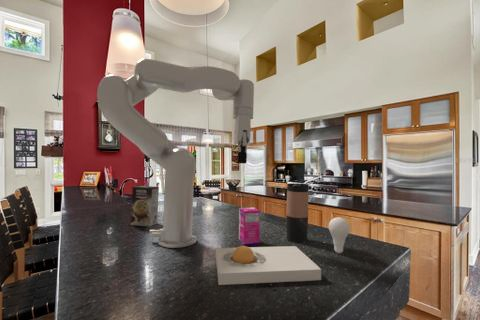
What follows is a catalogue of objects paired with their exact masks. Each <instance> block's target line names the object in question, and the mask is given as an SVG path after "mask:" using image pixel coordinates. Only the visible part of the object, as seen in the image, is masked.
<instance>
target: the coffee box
mask: <svg viewBox="0 0 480 320" xmlns="http://www.w3.org/2000/svg"><path fill="white" fill-rule="evenodd" d="M131 190H132V193H131V211H130V212H131V213H130V215H131V217H130V220H131V221H130V225H131V226H141V227H142V226H143V227H152V226H154V225H156V224H158V215H159V214H158V213H159V193H160V192H159V191H160V186H152V185H151V186H149V185H136V186H135V185H134V186H132V188H131Z"/></svg>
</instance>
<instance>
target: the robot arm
mask: <svg viewBox="0 0 480 320" xmlns="http://www.w3.org/2000/svg"><path fill="white" fill-rule="evenodd" d="M158 89H162V90H167V91H173V92H179V93H189V92H193V91H197V90H211V94H212V96H213V97H214V98H215V99H217V100H219V101H233V109H232V110H233V111H232V118H233V119H234V120H235V122H234V138H233V144H234V145H237V158H236V160H237V164H247V157H248V155H247V154H248V153H247V152H248V151H247V150H248V144H249V143H250V142H251V121H252V120H253V119H254V102H255V99H254V97H255V96H254V95H255V84H254V82H253V81H252V80H250V79H246V78H245V79H244V78H243V79H240V77H239V76H238V74H236V73H235V72H233V71H232V70H229V69H225V68H221V67H216V66H209V65H208V66H207V65H206V66H201V65H200V66H184V65H179V64H175V63H174V64H173V63H170V62H164V61H160V60H156V59H150V58H141V59H139V60H138V61H137V62H136V64H135V66H134V74H133V75H132V76H130V77H129V78H127V79H125V78H124V77H122V76H120V75H116V74H109V75H105V76H103V78H102V79H101V80H100V82H99V84H98V86H97V92H96V94H97V95H96V97H97V98H96V99H97V104H98V107H99V111H101V113H102V115H103V117H104V118H105V120H106V121H107V122H108V123H109V124H110V126H112V127H113V128H114V129H115V130H117V131H118V132H119V133H120V134H122V136H124V137H125V138H126V139H128V141H130V142H131V143H133V144H134V145H135V146H137V147H138V149H139V151H141V153H142V154H144V155H145V156H147V157H148V159H151V160H152V161H153V162H154V163H155V164H157V165H158V166H159V167H161V168H162V169H164V170H165V171H164V184H163V185H164V189H163V191H164V193H163V196H164V197H163V198H164V199H163V217H162V219H163V221H162V222H163V223H162V228H159V229H149V233H148V234H149V236H151V238H157V237H158V239H157V244H158V245H159V246H161V247H163V248H171V249H174V248H175V249H177V248H178V249H180V248H186V247H189V246H193V245H194V244H195V243H197V236H196V235H194V234H193V216H194V212H193V211H194V184H195V174H196V159H195V156H194V154H193V153H192V152H191V151H190V150H189V149H187V148H185V147H179V146H177V145H176V144H175V143H173V142H172V141H171V140H170V139H168V136H167V134H166V133H165V132H164V131H163V130H162V129H160V128H159V127H158V126H157V125H155V124H154V123H152V122H151V121H150V120H149V119H147V118H146V117H145V116H144V115H143V114H141V113H140V112H139V111H138V110H137V109H135V107H134V106H136V105H137V104H139V103H140V102H141V101H144V100H145V99H147V98H148V97H150V96H151V95H152V94H153V93H155V92H156V91H157V90H158Z"/></svg>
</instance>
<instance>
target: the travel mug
mask: <svg viewBox="0 0 480 320" xmlns="http://www.w3.org/2000/svg"><path fill="white" fill-rule="evenodd" d="M286 186H287V187H286V188H287V189H286V191H287V192H286V217H285V218H286V239H287V241H288V242H289V241H290V242H292V243H299V244H300V243H306V242H307V241H308V227H309V184H306V183H298V182H297V183H295V182H293V183H292V182H291V183H287V185H286Z"/></svg>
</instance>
